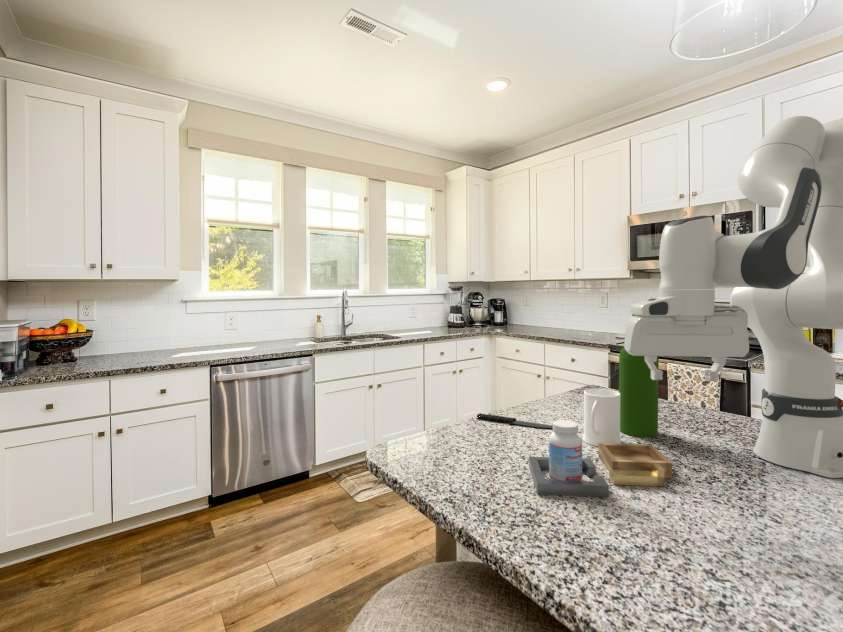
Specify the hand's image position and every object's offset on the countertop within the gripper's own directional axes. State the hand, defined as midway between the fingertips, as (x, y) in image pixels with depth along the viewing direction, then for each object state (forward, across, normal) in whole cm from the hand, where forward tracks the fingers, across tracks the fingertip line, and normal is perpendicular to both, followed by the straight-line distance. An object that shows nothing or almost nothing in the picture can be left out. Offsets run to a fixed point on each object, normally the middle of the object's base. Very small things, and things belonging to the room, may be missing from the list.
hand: (683, 380), depth 79 cm
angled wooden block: (+20, +8, 0) cm, 21 cm away
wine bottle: (+20, -3, -30) cm, 36 cm away
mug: (+20, +9, -21) cm, 30 cm away
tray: (+20, +6, -7) cm, 22 cm away
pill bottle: (+20, +21, 0) cm, 29 cm away
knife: (+20, +27, -34) cm, 48 cm away
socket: (+20, +21, 0) cm, 29 cm away
